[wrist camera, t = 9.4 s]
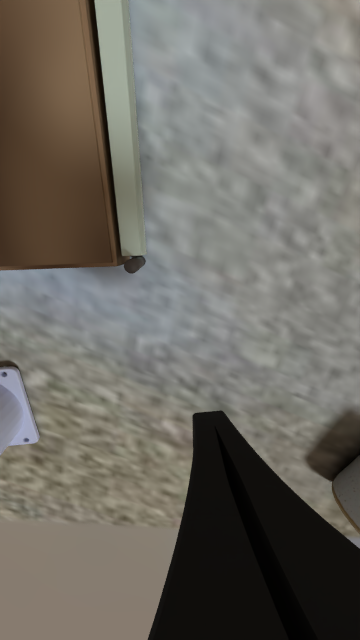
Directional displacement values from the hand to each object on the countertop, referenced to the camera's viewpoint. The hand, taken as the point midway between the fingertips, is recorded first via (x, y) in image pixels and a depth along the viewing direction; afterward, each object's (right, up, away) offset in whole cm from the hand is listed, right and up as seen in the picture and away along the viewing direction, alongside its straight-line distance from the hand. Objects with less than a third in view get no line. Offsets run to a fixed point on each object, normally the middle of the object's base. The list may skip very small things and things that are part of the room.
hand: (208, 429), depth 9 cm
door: (-4, +16, +4) cm, 17 cm away
